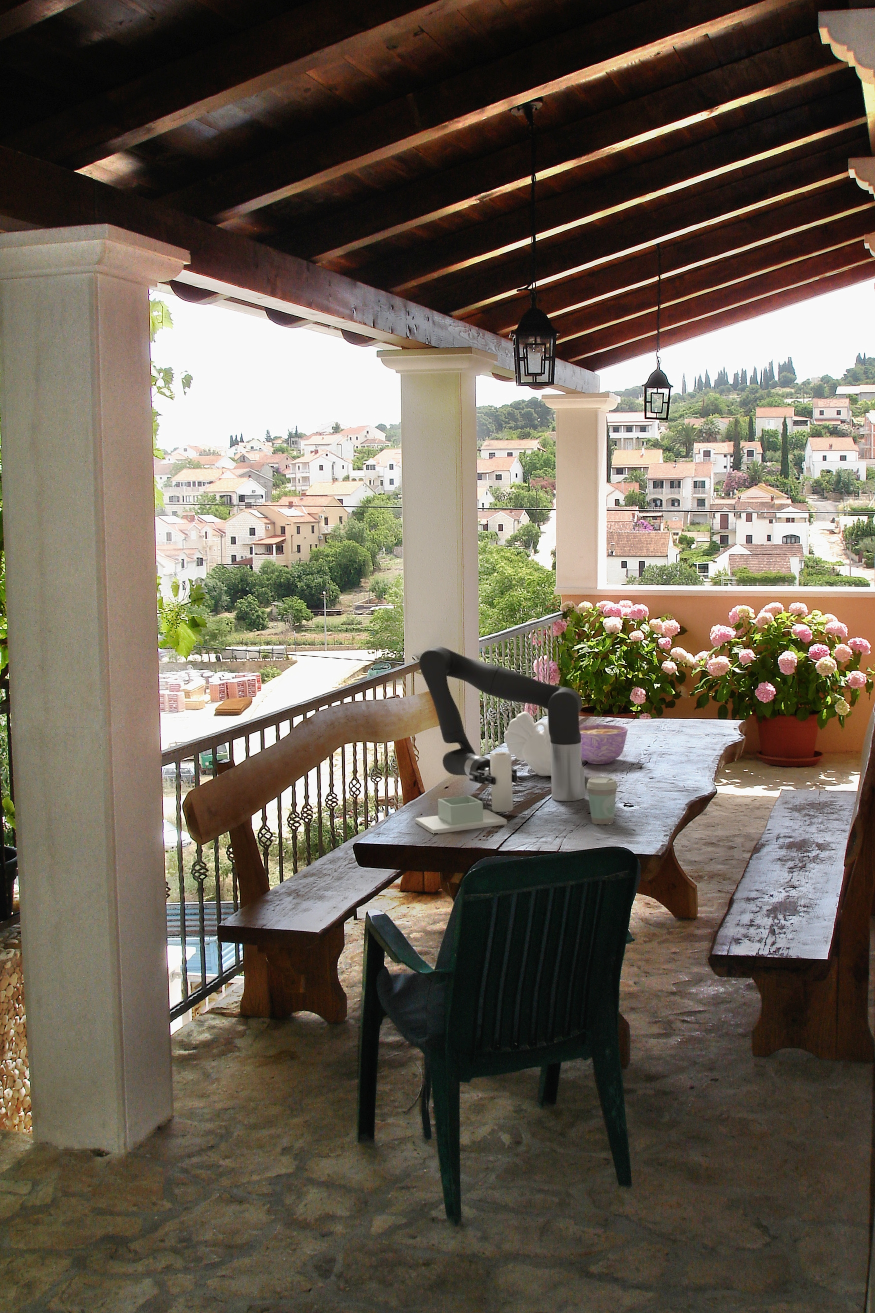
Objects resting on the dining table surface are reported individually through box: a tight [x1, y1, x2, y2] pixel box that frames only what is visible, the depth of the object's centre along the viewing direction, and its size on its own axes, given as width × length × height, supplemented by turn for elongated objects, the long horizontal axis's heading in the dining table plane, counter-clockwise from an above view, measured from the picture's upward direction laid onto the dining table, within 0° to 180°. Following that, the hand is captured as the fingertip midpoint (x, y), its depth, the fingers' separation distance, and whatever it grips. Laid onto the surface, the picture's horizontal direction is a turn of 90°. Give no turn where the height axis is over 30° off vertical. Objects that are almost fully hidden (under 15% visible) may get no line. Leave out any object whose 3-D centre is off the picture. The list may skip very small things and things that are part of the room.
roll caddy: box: [414, 795, 508, 835], centre depth 312 cm, size 22×14×6 cm, turn 112°
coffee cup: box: [585, 776, 618, 825], centre depth 308 cm, size 8×8×12 cm
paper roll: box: [489, 751, 514, 813], centre depth 319 cm, size 6×6×16 cm
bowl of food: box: [579, 723, 629, 765], centre depth 390 cm, size 20×20×12 cm
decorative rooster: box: [503, 708, 551, 777], centre depth 373 cm, size 25×16×25 cm, turn 59°
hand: (504, 779), depth 317 cm, fingers closed on paper roll, 6 cm apart
